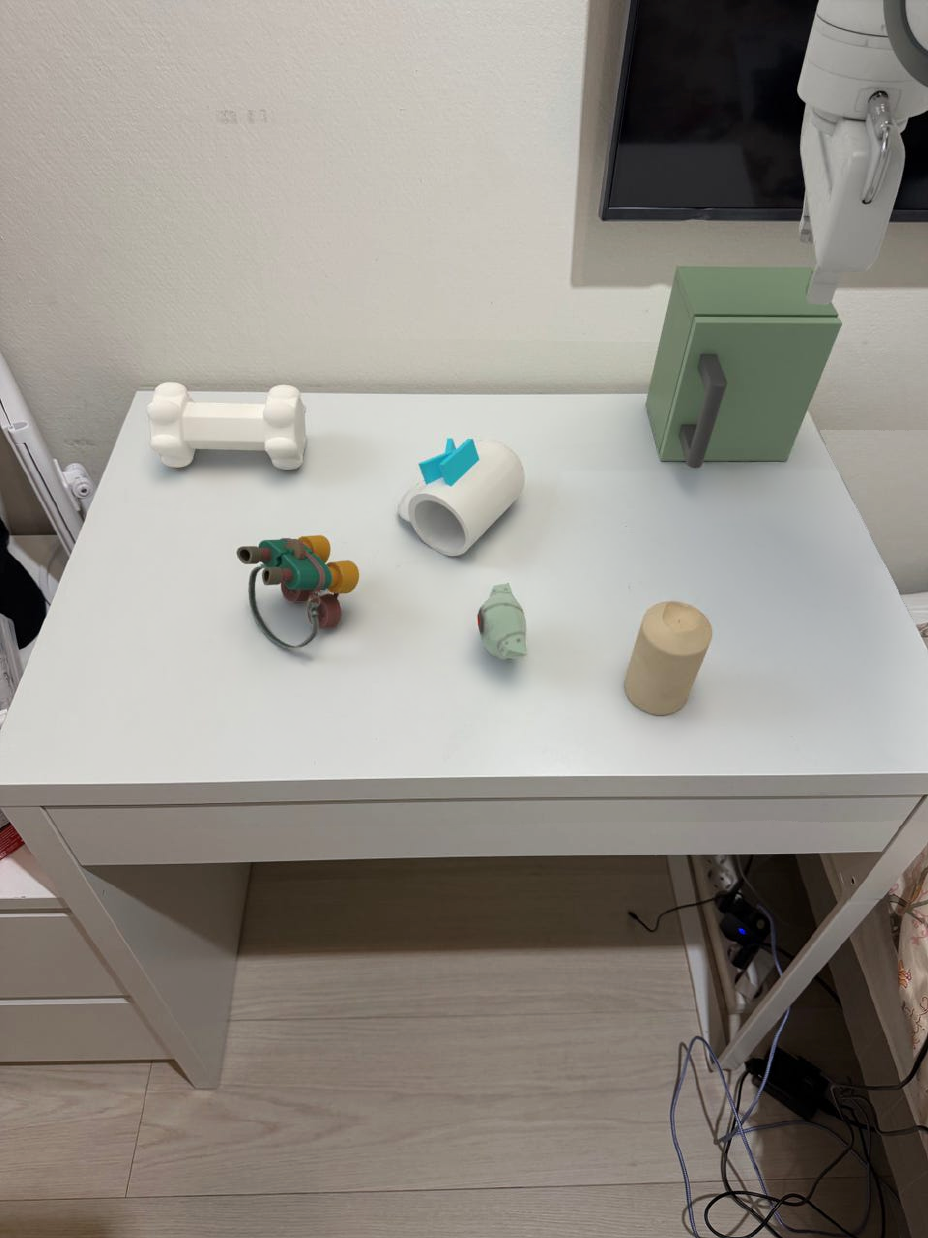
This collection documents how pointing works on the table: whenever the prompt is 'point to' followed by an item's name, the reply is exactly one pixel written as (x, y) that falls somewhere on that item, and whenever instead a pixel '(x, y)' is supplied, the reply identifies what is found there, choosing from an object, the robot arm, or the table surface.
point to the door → (746, 387)
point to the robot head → (502, 624)
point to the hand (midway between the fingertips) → (812, 267)
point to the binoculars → (301, 579)
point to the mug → (462, 494)
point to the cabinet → (720, 298)
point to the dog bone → (227, 426)
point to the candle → (667, 657)
